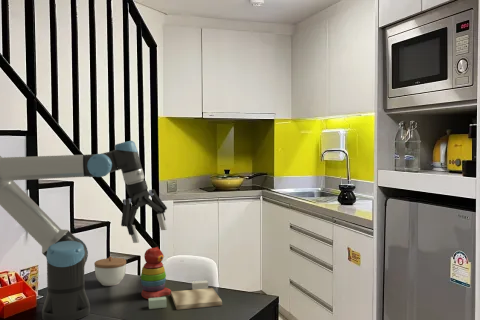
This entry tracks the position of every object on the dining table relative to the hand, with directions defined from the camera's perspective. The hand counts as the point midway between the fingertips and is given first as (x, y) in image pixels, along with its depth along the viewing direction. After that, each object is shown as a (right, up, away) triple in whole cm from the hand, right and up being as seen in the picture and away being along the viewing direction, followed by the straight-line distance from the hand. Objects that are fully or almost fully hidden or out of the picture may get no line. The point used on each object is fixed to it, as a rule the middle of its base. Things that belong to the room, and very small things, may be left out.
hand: (150, 236), depth 172 cm
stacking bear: (+1, -23, +1) cm, 23 cm away
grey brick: (+18, -22, +7) cm, 30 cm away
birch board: (+18, -22, -6) cm, 29 cm away
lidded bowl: (-20, -22, +16) cm, 34 cm away
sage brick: (+5, -23, -13) cm, 27 cm away
